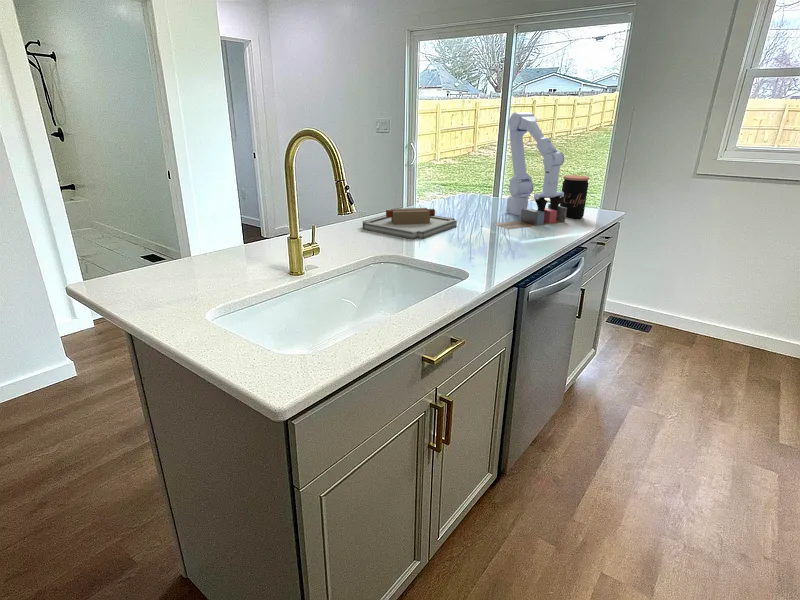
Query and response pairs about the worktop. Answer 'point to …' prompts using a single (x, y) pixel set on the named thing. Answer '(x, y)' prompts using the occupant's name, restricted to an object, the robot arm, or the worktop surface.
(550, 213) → the red rectangular block
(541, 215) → the slate book
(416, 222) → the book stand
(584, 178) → the coffee jar
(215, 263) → the worktop surface
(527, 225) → the book shelf
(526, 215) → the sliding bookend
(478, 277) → the worktop surface
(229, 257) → the worktop surface
